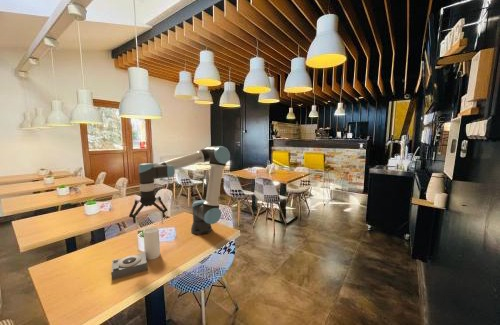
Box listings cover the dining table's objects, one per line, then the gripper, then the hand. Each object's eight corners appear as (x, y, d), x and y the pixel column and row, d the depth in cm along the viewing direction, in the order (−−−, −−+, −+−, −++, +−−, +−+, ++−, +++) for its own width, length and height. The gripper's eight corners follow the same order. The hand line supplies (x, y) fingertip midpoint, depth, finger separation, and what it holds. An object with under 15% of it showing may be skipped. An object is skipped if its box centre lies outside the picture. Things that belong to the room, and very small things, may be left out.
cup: (154, 260, 125) (152, 233, 123) (141, 258, 126) (140, 232, 125) (162, 252, 133) (161, 227, 131) (151, 251, 134) (149, 226, 133)
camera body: (145, 259, 126) (145, 250, 125) (147, 269, 115) (146, 260, 115) (113, 267, 118) (112, 258, 117) (111, 279, 107) (111, 270, 107)
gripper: (169, 186, 135) (170, 219, 137) (122, 191, 122) (125, 227, 125) (171, 188, 128) (173, 223, 130) (122, 194, 116) (125, 232, 118)
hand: (149, 225), depth 128 cm, fingers open, 13 cm apart
